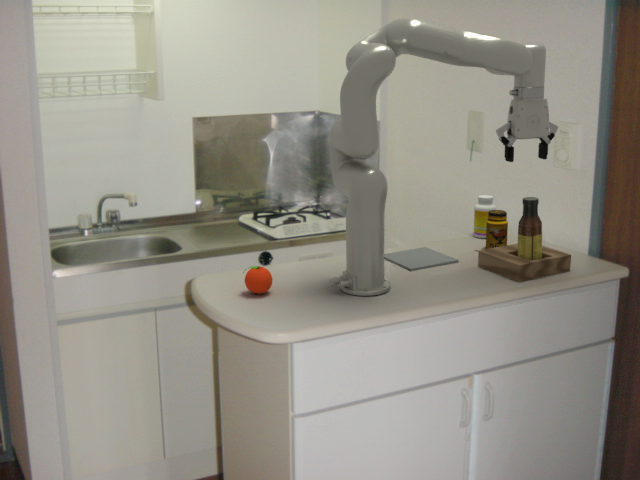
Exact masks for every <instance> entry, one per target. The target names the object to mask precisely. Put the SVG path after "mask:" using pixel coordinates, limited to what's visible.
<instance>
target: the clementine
mask: <svg viewBox="0 0 640 480" xmlns="http://www.w3.org/2000/svg"><path fill="white" fill-rule="evenodd" d="M247 269H249V270H247ZM246 270H247V272H246V274H245V277H244V285H245V287H246V288H247V290H248V291H249V292H251V293H252V292H253V293H252V294H254V293H263V294H265V293H266V292H268V291H269V290H270V289H271V287H272V285H273V279H274V278H273V275H272V273H271V272H270V270H269V269H268V268H266V267H265V266H256V265H255V266H254V265H252V266H248V267H247V268H245V269H244V270H243V272H242V274H244V273H245V271H246ZM264 292H265V293H264Z"/></svg>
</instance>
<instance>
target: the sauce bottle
mask: <svg viewBox="0 0 640 480" xmlns="http://www.w3.org/2000/svg"><path fill="white" fill-rule="evenodd" d="M539 201H540V200H539V198H538V197H534V196H526V197H523V198H522V216H521V217H520V219H519V221H518V227H517V228H518V231H517V243H518V257H520V258H523V259H526V260H529V261H532V260H537V259H542V246H543V222H542V219H541V218H540V216H539V204H540V202H539Z"/></svg>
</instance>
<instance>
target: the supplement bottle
mask: <svg viewBox="0 0 640 480" xmlns="http://www.w3.org/2000/svg"><path fill="white" fill-rule="evenodd" d="M477 201H478V202H477V203H476V204H475V205H474V209H473V212H474V213H473V236H474V237H475V238H477V237H478V238H479V239H484V238H486V225H487V220H488V215H489V214H488V212H489V211H491V210H497V206H496V205H495V204H494V203H493V201H494V196H493V195H490V194H489V195H488V194H481V195H478V196H477Z"/></svg>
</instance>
